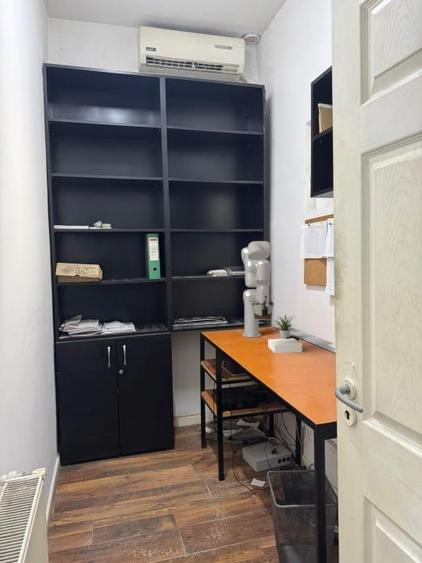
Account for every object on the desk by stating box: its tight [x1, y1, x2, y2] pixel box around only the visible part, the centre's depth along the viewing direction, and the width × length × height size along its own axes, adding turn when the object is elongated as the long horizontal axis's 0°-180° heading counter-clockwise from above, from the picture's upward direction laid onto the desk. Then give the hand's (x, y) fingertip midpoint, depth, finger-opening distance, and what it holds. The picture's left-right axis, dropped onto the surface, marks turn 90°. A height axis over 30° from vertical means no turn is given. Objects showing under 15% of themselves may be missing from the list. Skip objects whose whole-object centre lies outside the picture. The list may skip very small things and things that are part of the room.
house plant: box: [273, 314, 297, 339], centre depth 249 cm, size 14×14×16 cm
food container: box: [252, 300, 275, 321], centre depth 215 cm, size 12×6×10 cm, turn 85°
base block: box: [267, 337, 303, 354], centre depth 224 cm, size 14×16×5 cm
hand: (262, 314), depth 215 cm, fingers closed on food container, 5 cm apart
